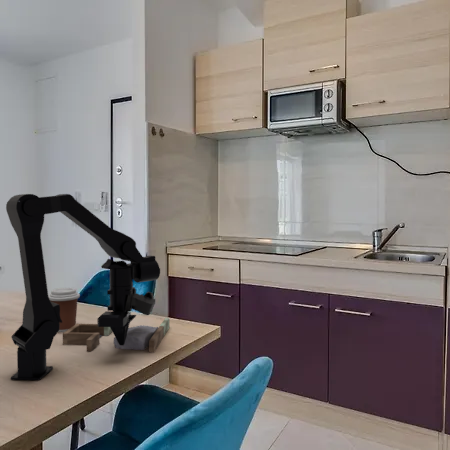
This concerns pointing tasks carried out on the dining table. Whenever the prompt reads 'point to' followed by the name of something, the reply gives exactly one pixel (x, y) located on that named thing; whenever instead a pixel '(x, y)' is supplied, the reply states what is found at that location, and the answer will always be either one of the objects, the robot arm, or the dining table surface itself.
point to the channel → (92, 333)
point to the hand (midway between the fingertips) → (122, 344)
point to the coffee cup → (66, 306)
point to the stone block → (137, 338)
